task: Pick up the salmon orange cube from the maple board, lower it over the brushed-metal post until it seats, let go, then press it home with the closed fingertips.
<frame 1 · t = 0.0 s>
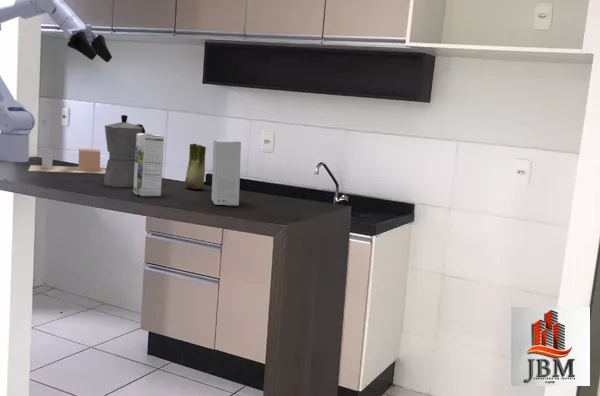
hand: (102, 58, 172), 32 cm above the countertop, tool tilted 50°, fingers open, 7 cm apart
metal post: (47, 168, 172), resting on maple board
salmon orange cube: (88, 169, 176), point 1 cm above the countertop, touching maple board
maple board: (68, 172, 174), on the countertop
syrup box: (147, 195, 149), on the countertop
skincare box: (224, 203, 146), on the countertop
fennel bulb: (194, 190, 163), on the countertop
coffeepot: (124, 185, 162), on the countertop
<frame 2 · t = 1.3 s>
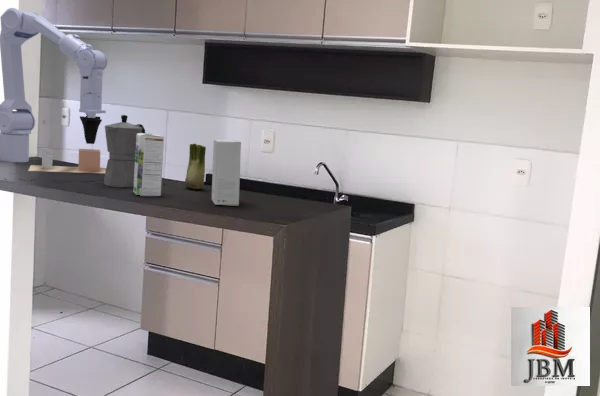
hand: (89, 142, 175), 9 cm above the countertop, tool pointing down, fingers open, 7 cm apart
nothing on the countertop moved.
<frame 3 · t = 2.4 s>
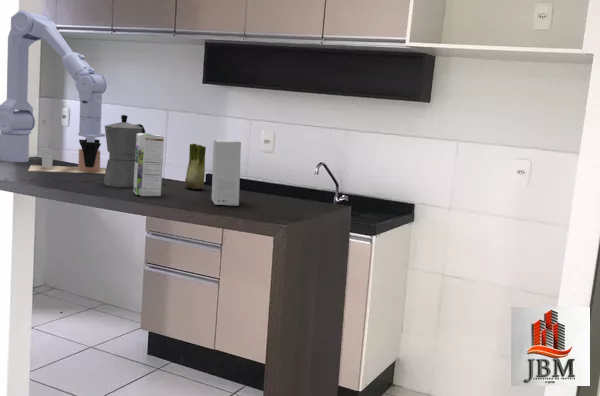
hand: (89, 165, 176), 2 cm above the countertop, tool pointing down, fingers closed on salmon orange cube, 6 cm apart
salmon orange cube: (88, 169, 176), point 1 cm above the countertop, touching gripper, maple board
everything else where it was.
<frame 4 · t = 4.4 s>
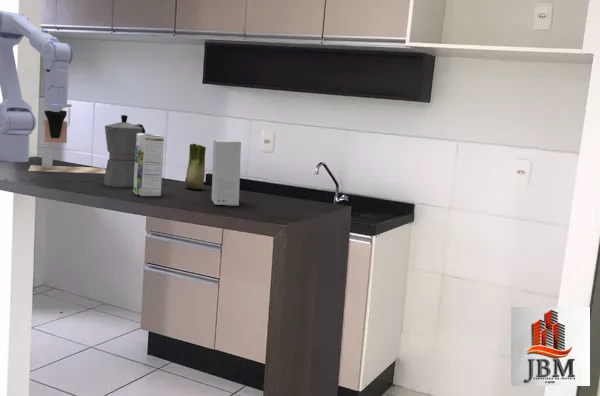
hand: (55, 137, 171), 10 cm above the countertop, tool pointing down, fingers closed on salmon orange cube, 6 cm apart
salmon orange cube: (55, 141, 172), point 9 cm above the countertop, touching gripper
everything else where it was.
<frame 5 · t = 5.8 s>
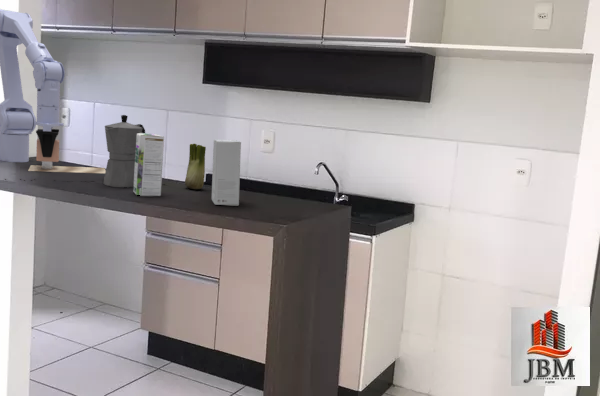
hand: (47, 155, 171), 5 cm above the countertop, tool pointing down, fingers closed on salmon orange cube, 6 cm apart
salmon orange cube: (47, 160, 172), point 3 cm above the countertop, touching gripper
everything else where it was.
when the fingers open (3 cm above the countertop, at t = 6.8 s): salmon orange cube stays where it is, resting on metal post.
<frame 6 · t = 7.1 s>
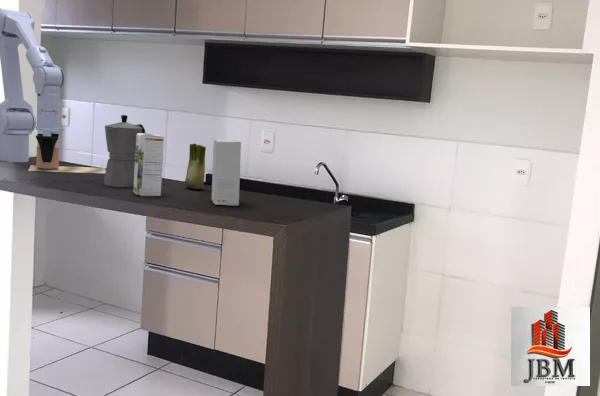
hand: (47, 160, 172), 3 cm above the countertop, tool pointing down, fingers open, 7 cm apart
salmon orange cube: (47, 166, 172), point 1 cm above the countertop, touching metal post
everything else where it was.
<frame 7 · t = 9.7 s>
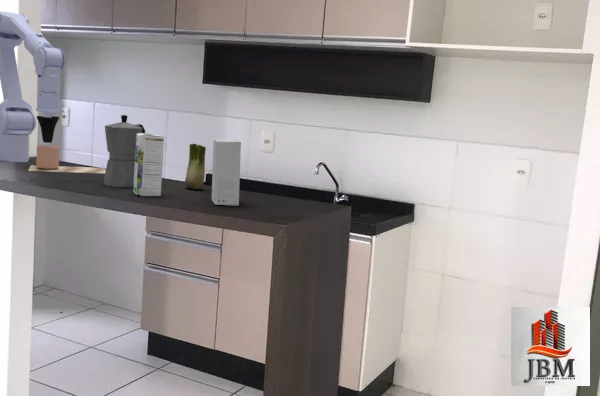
hand: (47, 142, 171), 8 cm above the countertop, tool pointing down, fingers closed
nothing on the countertop moved.
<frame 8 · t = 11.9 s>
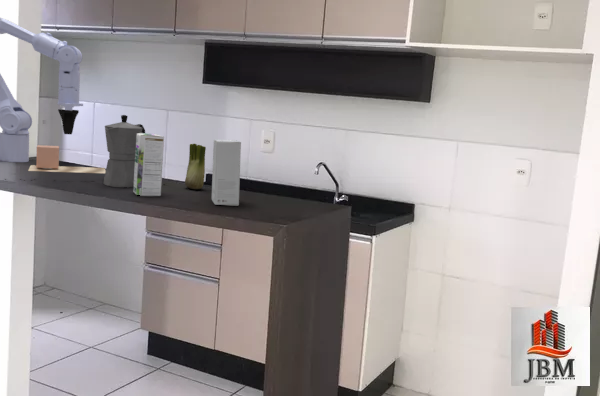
hand: (67, 134, 183), 10 cm above the countertop, tool pointing down, fingers closed
nothing on the countertop moved.
at the end: salmon orange cube 0.2 cm from the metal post (horizontally); salmon orange cube point 1.5 cm above the countertop; salmon orange cube tilted 0° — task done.
